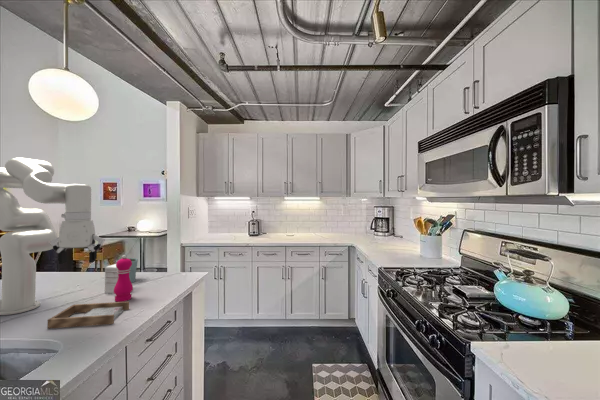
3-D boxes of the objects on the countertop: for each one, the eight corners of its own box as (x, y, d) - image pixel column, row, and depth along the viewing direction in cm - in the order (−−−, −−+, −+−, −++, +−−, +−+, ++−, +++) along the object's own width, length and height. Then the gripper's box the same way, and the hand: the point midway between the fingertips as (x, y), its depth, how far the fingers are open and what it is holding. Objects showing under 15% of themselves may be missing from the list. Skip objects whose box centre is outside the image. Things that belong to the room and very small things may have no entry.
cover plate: (80, 324, 96) (80, 317, 96) (94, 314, 104) (94, 308, 104) (111, 322, 98) (111, 315, 98) (122, 312, 106) (122, 306, 106)
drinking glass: (121, 279, 150) (122, 258, 151) (140, 279, 151) (141, 257, 152) (111, 284, 140) (111, 262, 140) (131, 284, 141) (132, 261, 142)
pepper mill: (123, 303, 115) (124, 256, 116) (109, 301, 117) (110, 256, 117) (136, 297, 122) (137, 253, 123) (123, 296, 124) (124, 253, 124)
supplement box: (115, 288, 134) (115, 263, 135) (129, 288, 134) (129, 263, 134) (103, 293, 127) (104, 266, 127) (118, 293, 127) (119, 267, 127)
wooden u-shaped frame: (47, 328, 91) (47, 319, 91) (73, 312, 105) (73, 304, 105) (112, 324, 96) (112, 315, 96) (129, 308, 109) (129, 301, 109)
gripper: (44, 217, 95) (43, 265, 94) (99, 217, 98) (98, 263, 98) (58, 216, 102) (57, 261, 102) (109, 216, 106) (108, 259, 105)
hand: (77, 262), depth 100 cm, fingers open, 9 cm apart
